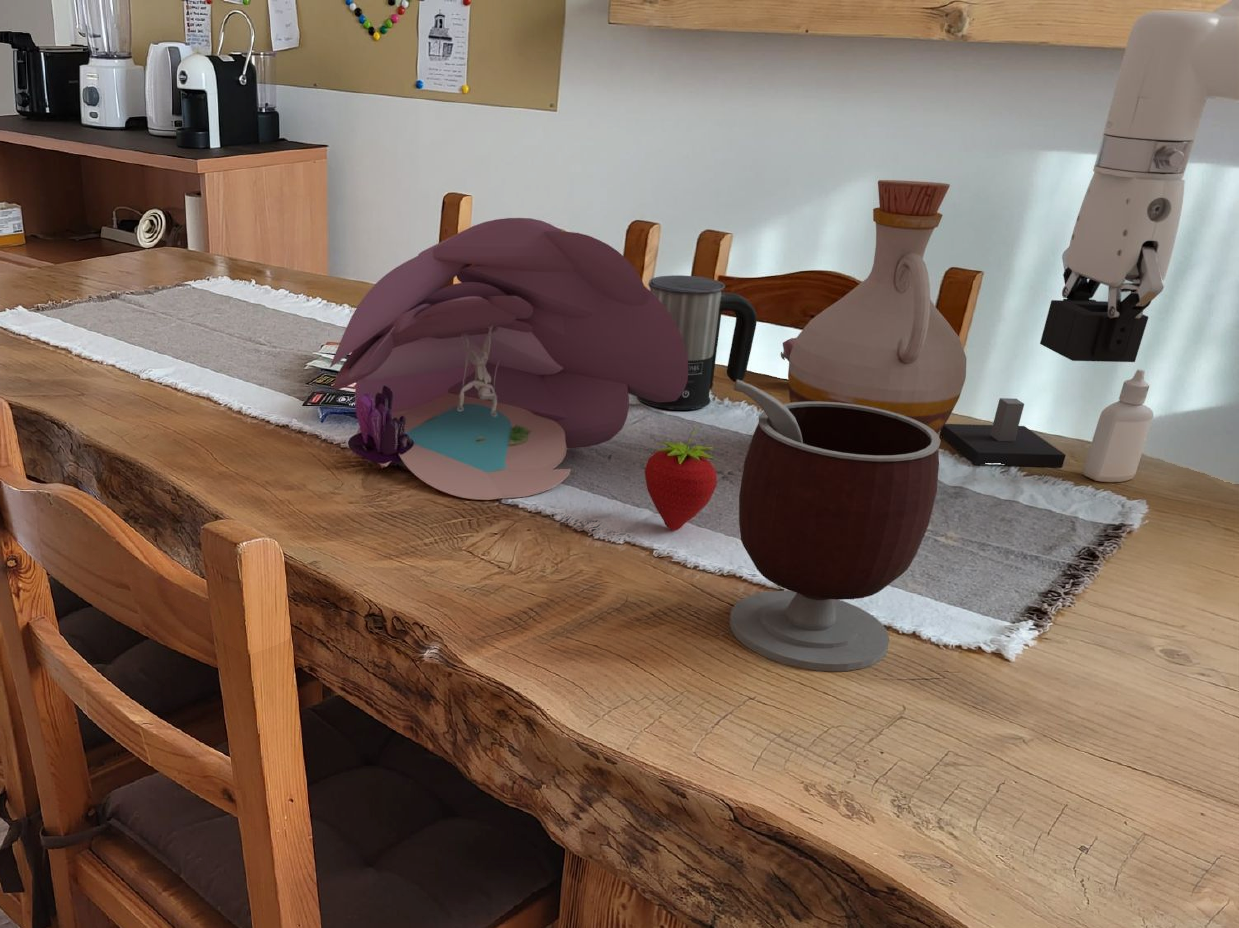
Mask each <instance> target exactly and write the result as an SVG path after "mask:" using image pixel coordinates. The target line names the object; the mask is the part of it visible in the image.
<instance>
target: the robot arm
mask: <svg viewBox="0 0 1239 928" xmlns="http://www.w3.org/2000/svg"><path fill="white" fill-rule="evenodd" d="M1119 68H1120V69H1119V73H1118V76H1117V79H1116V83H1115V87H1114V91H1113V95H1112V99H1111V102H1110V106H1109V110H1108V114H1107V117H1106V121H1105V125H1104V128H1103V134H1102V136H1101V140H1100V143H1099V147H1098V151H1097V155H1096V159H1095V162H1094V165H1093V169H1092V171H1093V174H1092V177H1091V179H1090V182H1089V184H1088V187H1087V188H1086V191H1085V194H1084V197H1083V200H1082V202H1081V205H1080V208H1079V212H1078V214H1077V218H1076V221H1075V224H1074V227H1073V231H1072V234H1071V237H1070V242H1069V244H1068V247H1067V248H1066V249H1065V250H1064V251H1063V253H1062V255H1061V259H1062V265H1063V274H1062V276H1063V281H1064V286H1063V288H1062V291H1061V297H1062V298H1063V299H1062V300H1067V301H1097V300H1096V299H1092V298H1094V296H1095V294H1096V293H1097V290H1098V289H1099V287H1100V285H1105V286H1108V294H1107V295H1108V297H1107V301H1108V316H1102V318H1101V321H1100V325H1099V328H1098V332H1097V335H1096V339H1095V342H1094V346H1093V349H1092V353H1091V354H1092V356H1093V357H1095V358H1109V359H1123V358H1124V357H1125V356H1126V354H1127V350H1128V347H1129V344H1130V340H1131V337H1132V334H1133V330H1134V327H1135V324H1136V320H1137V319H1139V318H1141V316H1142V314H1143V315H1144V310H1146V309H1147V308H1148V307H1149V306H1150V305H1151V303H1152V301H1154V300H1155V299H1156V297H1157V296H1159V295H1160V294H1161V293H1162V292H1163V290H1164V288H1165V284H1164V281H1165V279H1166V276H1167V273H1168V269H1169V265H1170V263H1171V258H1172V255H1173V251H1174V247H1175V243H1176V239H1177V234H1178V230H1179V226H1180V219H1181V216H1182V209H1183V203H1184V195H1185V181H1186V180H1184V175H1185V171H1186V169H1187V166H1188V162H1189V159H1190V155H1191V153H1192V149H1193V146H1194V142H1195V141H1194V140H1195V138H1196V135H1197V131H1198V129H1199V125H1200V122H1201V118H1202V116H1203V113H1204V109H1205V107H1206V104H1207V103H1206V102H1207V100H1208V99H1209V100H1219V101H1226V102H1227V101H1228V102H1232V103H1237V104H1239V0H1230V1H1228V2H1226V3H1224V4H1222V5H1221V6H1219V7H1217V8H1215V9H1213V10H1211V11H1198V10H1151V11H1147V12H1145V13H1143V14H1141V15H1139V17H1138V18H1137V19H1136V20H1135V21H1134V22H1133V24H1132V26H1131V29H1130V33H1129V35H1128V39H1127V43H1126V47H1125V50H1124V53H1123V57H1122V61H1121V65H1120V67H1119ZM1126 281H1128V282H1129V283H1128V282H1126ZM1122 293H1129V294H1128V295H1126V297H1124V299H1122Z"/></svg>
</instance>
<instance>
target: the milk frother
mask: <svg viewBox="0 0 1239 928" xmlns="http://www.w3.org/2000/svg"><path fill="white" fill-rule="evenodd" d="M647 285H648V287H649V290H650V291H651V292H652V293H653V294H654V295H655V296H656V297H657V298H658V300H659V301H660V302H661V303H662V304H663V305H664V307H665V308H666V309H667V310H668V312H669V313H670V315H671V316H672V318H673V320H674V321H675V323H676V325H677V328H678V330H679V332H680V334H681V336H682V338H683V341H684V345H685V349H686V353H687V359H688V380H687V384H686V387H685V389H684V391H683V393H682V395H681V396H680V397H679V398H678V399H677V400H676V401H672V402H654V401H651V400H647V399H644V398H641V397H638V396H636V398H637V400H639V401H640V402H642V404H643V403H644V404H646V405H648V406H652V407H655V408H659V409H666V410H672V411H673V410H678V411H682V410H683V411H688V410H696V409H697V410H698V409H702V408H705V407H707V406H708V405H709V404H710V403H711V398H710V389H713V385H714V378H715V369H716V360H717V352H718V345H719V336H720V327H721V320H722V312H733V313H734V315H735V325H734V329H733V334H732V340H731V344H730V350H729V355H728V362H727V367H726V375H727V377H728V378H729V380H730V381H732V382H734V383H735V382H736V380H741V381H744V379H745V377H746V374H747V369H748V364H749V361H750V356H751V353H752V348H753V343H754V338H755V333H756V328H757V322H758V316H757V311H756V310H755V308H754V305H752V303H751V302H750V301H749V300H748V299H747V298H745V297H744V296H743V295H740V294H738V293H735V292H725V291H723V290H724V289H725V287H726V284H724V283H723V282H722V281H719V280H716V279H713V278H709V277H703V276H695V275H682V274H681V275H679V274H678V275H673V274H672V275H660V276H656V277H655V276H654V277H652V278H650V279H649V280H648V284H647ZM722 291H723V292H722Z"/></svg>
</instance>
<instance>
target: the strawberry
mask: <svg viewBox="0 0 1239 928" xmlns="http://www.w3.org/2000/svg"><path fill="white" fill-rule="evenodd" d="M696 429H697V428H696V427H694V429H693V430H692V433H691V435H690V438H689V440H688V442H687V444H684V443H683V442H681V441H679V442H678V443H676V442H675V443H674V442H668V441H664V440H663V441H662V442H661V443H662V444H663V445H665V446H666V447H667V448H658V449H657V451H656V452H654V453H653V454H652V455H651V456H649V458H648V459H647V462H646V464H645V468H644V478H645V486H646V490H647V492H648V494H649V497H650V499H651V501H652V503H653V505H654V507H655V509H656V511H657V512H658V514H659V515H660V517H661V519H662V521H663V523H664V525H665V527H667V529H669V530H671V531H678V530H680V529H681V528H682V527H683V526H684V525H685V524H686V523H688V522H689V521H690V520H692V519H693V518H694V517H696V516H697V515H698V514H699V513H700V512H701V511H702V510H703V509H704V508H705V507H706V506H707V505H708V504H709V502H710V500H711V499H712V496H713V495H714V493H715V490H716V488H717V487H718V486H717V485H718V480H717V479H718V478H717V471H716V470H717V469H716V468H715V467H714V466H713V464H712V462H711V461H710V460H715V458H714V457H713V456H712V455H709V454H708V453H706V452H705V451H710V450H714V447H710V446H703V445H702V446H701V445H695V446H693V447H692V448H691V447H690V443H691V440H692V438H693V436H694V433H695V431H696Z"/></svg>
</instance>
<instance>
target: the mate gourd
mask: <svg viewBox="0 0 1239 928" xmlns="http://www.w3.org/2000/svg"><path fill="white" fill-rule="evenodd" d="M733 391H736V392H738V393H742V394H744V395H745V396H747V397H748V398H750V400H752V401H754V402H755V403H756V405H758V406H759V407H760V408H761V409H762V410H763V411H762V412H761V413H760V414H759V417H758V422H757V426H756V427H755V430H754V432H753V435H752V437H751V441H750V443H749V446H748V449H747V453H746V456H745V459H744V463H743V470H742V475H741V481H740V482H741V483H740V488H739V495H738V525H739V534H740V540H741V543H742V546H743V548H744V550H745V552H746V553H747V554H748V557H749V558H750V560H751V561H752V564H753V565H754V566H755V568H756V570H757V571H758V572H759V574H760V575H761V576H762V577H763V578H764V579H766V580H767V581H769V582H771V583H773V584H774V585H775V586H778V587H780V588H783V589H785V590H770V591H762V592H757V593H755V594H754V593H753V594H750V595H748V596H746V597H744V598H741V599H740V600H739V601H737V602H736V603H735V604H734V605H733V606H732V608H731V610H730V615H729V627H730V632H731V633H732V634H733V635H734V637H735V638H736V640H738V641H739V642H740V643H741V644H742V645H743V646H745V647H746V648H748V649H749V650H751V651H752V652H754V653H756V654H758V655H760V656H762V657H764V658H766V659H768V660H771V661H775V662H777V663H779V664H782V665H786V666H790V667H794V668H797V669H803V670H810V671H816V672H817V671H818V672H832V673H833V672H849V671H857V670H862V669H865V668H868V667H871V666H873V665H875V664H877V663H879V662H880V661H882V659H883V658H884V657H885V656H886V655H887V651H888V648H889V644H890V636H889V632H888V631H887V629H886V627H885V625H884V624H883V623H881V621H880V620H879V619H878V618H876V617H875V616H874V615H872V614H871V613H870V612H868V611H866V610H865V609H862V608H860V607H859V606H857V605H854V604H852V603H849V602H847V601H845V600H857V599H863V598H867V597H871V596H874V595H876V594H878V593H879V592H881V591H882V590H884V589H885V588H886V587H888V586H889V585H890V584H891V583H893V582H894V581H896V580H897V579H898V578H899V577H901V576H902V575H903V574H904V573H906V571H907V570H909V568H910V566H911V565H912V562H913V561H914V559H915V558H916V555H917V553H918V551H919V549H920V547H921V544H922V542H923V540H924V537H925V534H926V532H927V530H928V527H929V525H930V521H931V517H932V513H933V509H934V505H935V501H936V497H937V493H938V482H939V471H940V470H939V468H940V456H939V455H940V454H939V453H940V452H939V447H940V445H941V439H940V438H941V437H940V435H939V433H938V434H937V433H936V432H935V431H934V430H932V429H931V428H929V427H928V426H926V425H925V424H923V423H921V422H919V421H916V420H914V419H912V418H909V417H906V416H903V415H900V414H897V413H893V412H890V411H886V410H882V409H877V408H873V407H868V406H861V405H855V404H847V403H838V402H821V401H820V402H793V403H791V402H787V403H783V402H781V401H780V400H779V399H777V398H776V397H774V396H773V395H770V394H769V393H768V392H765V391H764V390H761V389H760V388H758V387H756V386H754V385H752V384H751V383H747V382H744V380H742V381H741V380H736V382H734V386H733Z"/></svg>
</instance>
